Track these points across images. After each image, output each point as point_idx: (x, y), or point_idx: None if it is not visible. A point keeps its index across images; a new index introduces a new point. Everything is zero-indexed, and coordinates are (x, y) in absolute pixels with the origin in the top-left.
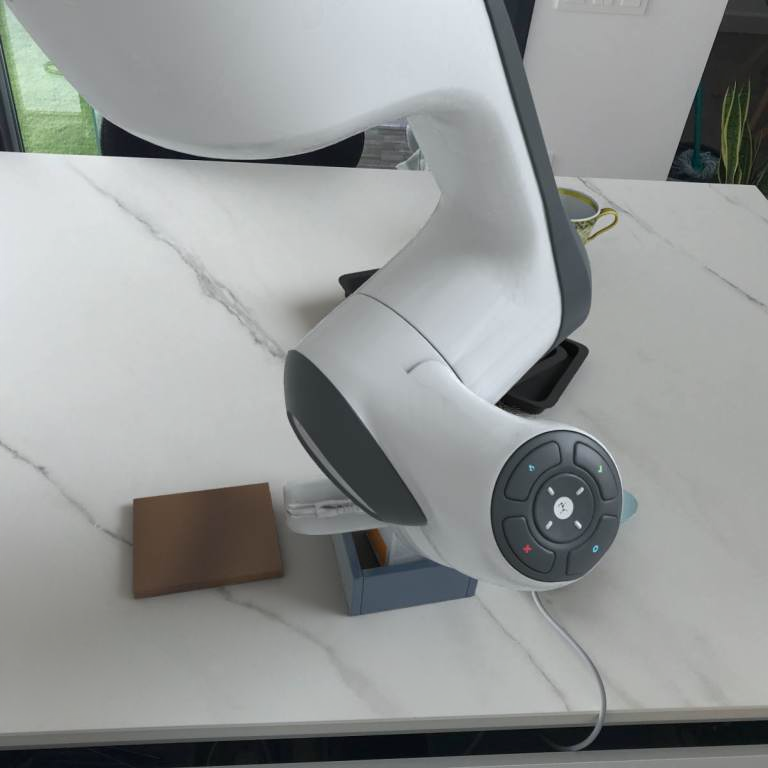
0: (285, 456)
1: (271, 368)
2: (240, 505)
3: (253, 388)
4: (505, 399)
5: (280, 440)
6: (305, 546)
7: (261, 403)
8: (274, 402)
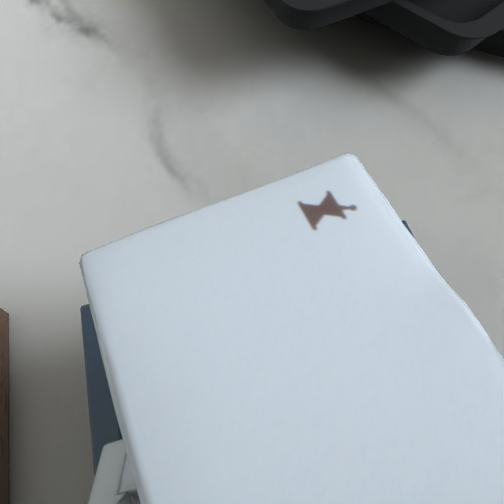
0: (55, 225)
1: (50, 44)
2: None
3: (13, 86)
4: (494, 45)
5: (49, 189)
6: (75, 477)
7: (23, 113)
8: (47, 108)
